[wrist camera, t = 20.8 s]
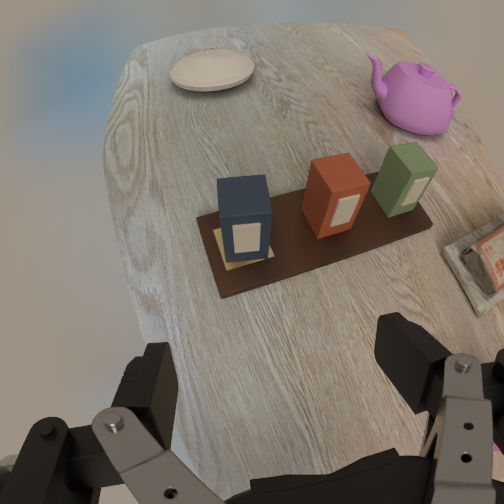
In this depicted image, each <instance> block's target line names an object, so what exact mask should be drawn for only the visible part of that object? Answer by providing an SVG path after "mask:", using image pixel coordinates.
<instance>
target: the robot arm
mask: <svg viewBox="0 0 504 504" xmlns="http://www.w3.org/2000/svg"><path fill="white" fill-rule="evenodd" d="M374 353H375V359H376V361H377V363H378V365H379V366H380V367H381V369H382V370H383V371H384V373H385V374H386V375H387V377H388V378H389V379H390V381H391V382H392V383H393V385H394V386H395V388H396V389H397V390H398V392H399V393H400V394H401V396H402V397H403V398H404V400H405V401H406V402H407V404H408V405H409V406H410V408H411V409H412V411H413V412H414V413H415V415H416V414H418V413H421V412H424V411H426V410H427V411H428V412H429V414H428V417H427V420H426V426H425V431H424V436H423V441H422V445H421V450H420V454H419V456H399V454H398V452H397V451H396V449H395V448H392V449H389V450H386V451H383V452H380V453H376V454H373V455H370V456H367V457H363V458H361V459H359V460H357V461H355V462H353V463H352V464H350V465H348V466H346V467H344V468H342V469H339V470H337V471H335V472H333V473H331V474H325V475H282V476H275V477H268V478H260V479H251V480H250V486H251V489H250V490H247V491H244V492H242V493H239V494H237V495H234V496H233V497H231V498H229V499H227V500H226V501H224V502H223V501H222V500H221V499H220V498H219V497H218V496H217V495H216V494H215V493H213V492H212V491H211V490H210V489H209V488H208V487H207V486H206V485H205V484H204V483H203V482H202V481H201V480H200V479H199V478H198V477H197V476H196V475H195V474H193V472H191V470H190V469H189V468H188V467H187V466H186V465H184V463H183V462H182V461H181V460H180V459H179V458H178V457H177V456H176V455H175V454H174V453H173V452H172V451H171V450H170V448H171V440H172V432H173V425H174V417H175V410H176V403H177V396H178V379H177V374H176V370H175V366H174V362H173V358H172V354H171V349H170V346H169V343H168V342H160V343H148V344H147V346H146V349H145V352H144V355H143V357H142V356H141V357H135V358H134V359H133V360H132V361H131V362H130V363H129V364H128V365H127V367H126V369H125V372H124V376H123V377H122V379H121V383H120V384H119V387H118V389H117V392H116V395H115V397H114V400H113V402H112V405H111V408H107V409H105V410H103V411H101V412H99V413H98V414H97V415H96V416H95V417H94V419H93V421H92V424H91V425H87V426H82V427H75V428H68V426H67V424H66V423H65V421H63V420H62V419H60V418H58V417H47V418H44V419H41V420H39V421H38V422H36V423H35V424H34V425H33V426H32V428H31V429H30V431H29V433H28V435H27V437H26V440H25V442H24V444H23V446H22V448H21V450H20V453H19V455H18V457H17V459H16V461H15V464H14V465H6V466H0V504H98V503H99V497H100V491H101V487H107V486H113V485H119V484H126V486H127V487H128V489H129V490H130V491H131V493H132V494H133V496H134V497H135V498H136V500H137V501H138V503H139V504H504V482H501V481H497V480H494V479H492V466H493V441H494V443H495V444H496V445H497V447H498V448H499V450H500V451H501V452H502V454H503V455H504V349H501V350H500V351H499V352H498V353H497V356H496V359H495V362H491V363H484V364H480V362H479V361H478V360H477V359H476V358H474V357H473V356H470V355H467V354H452V353H451V352H450V351H449V350H447V349H446V348H445V347H444V346H443V345H442V344H441V343H440V342H439V341H437V340H436V339H434V337H433V336H432V335H431V334H428V332H427V331H426V330H425V329H424V328H423V327H422V326H420V325H418V324H415V323H413V322H411V321H408V320H407V319H406V318H404V317H403V316H402V315H401V314H400V313H399V312H395V313H390V314H385V315H381V316H379V318H378V323H377V332H376V340H375V349H374Z"/></svg>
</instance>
